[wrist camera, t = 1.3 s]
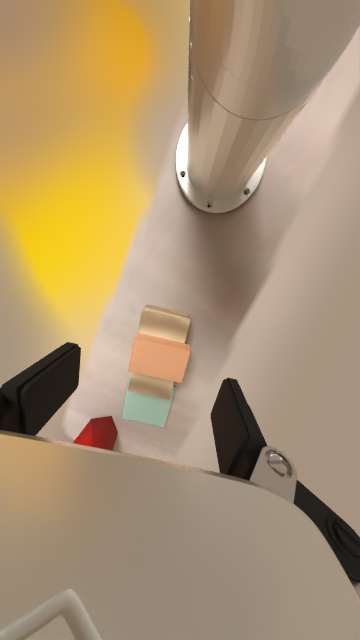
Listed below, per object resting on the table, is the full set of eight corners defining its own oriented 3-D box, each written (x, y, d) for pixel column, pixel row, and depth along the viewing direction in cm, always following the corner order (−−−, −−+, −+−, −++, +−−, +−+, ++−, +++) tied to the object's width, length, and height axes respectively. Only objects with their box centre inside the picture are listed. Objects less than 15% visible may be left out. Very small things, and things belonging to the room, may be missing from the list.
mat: (128, 376, 37) (128, 377, 36) (175, 386, 37) (175, 387, 37) (121, 417, 40) (121, 418, 39) (164, 426, 40) (164, 427, 40)
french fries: (122, 434, 41) (89, 524, 27) (89, 439, 42) (40, 528, 28) (111, 404, 39) (68, 485, 24) (76, 409, 39) (15, 491, 25)
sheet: (147, 304, 32) (142, 310, 28) (189, 314, 32) (190, 321, 29) (133, 377, 37) (127, 390, 33) (170, 385, 37) (169, 399, 33)
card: (138, 332, 29) (134, 338, 27) (190, 344, 30) (190, 351, 27) (132, 363, 31) (128, 371, 29) (181, 374, 31) (181, 383, 29)
